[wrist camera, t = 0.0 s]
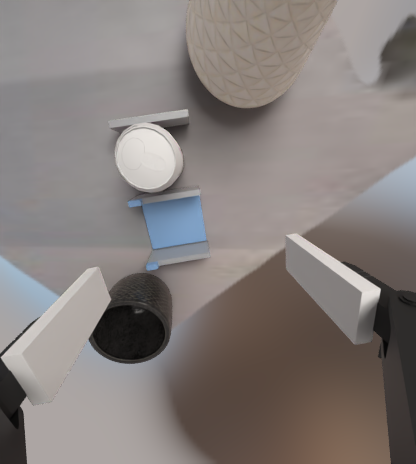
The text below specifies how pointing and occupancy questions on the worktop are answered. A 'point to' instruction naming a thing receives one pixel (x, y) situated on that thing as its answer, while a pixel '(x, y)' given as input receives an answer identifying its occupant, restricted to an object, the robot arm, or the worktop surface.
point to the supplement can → (148, 157)
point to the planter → (134, 320)
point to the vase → (252, 45)
